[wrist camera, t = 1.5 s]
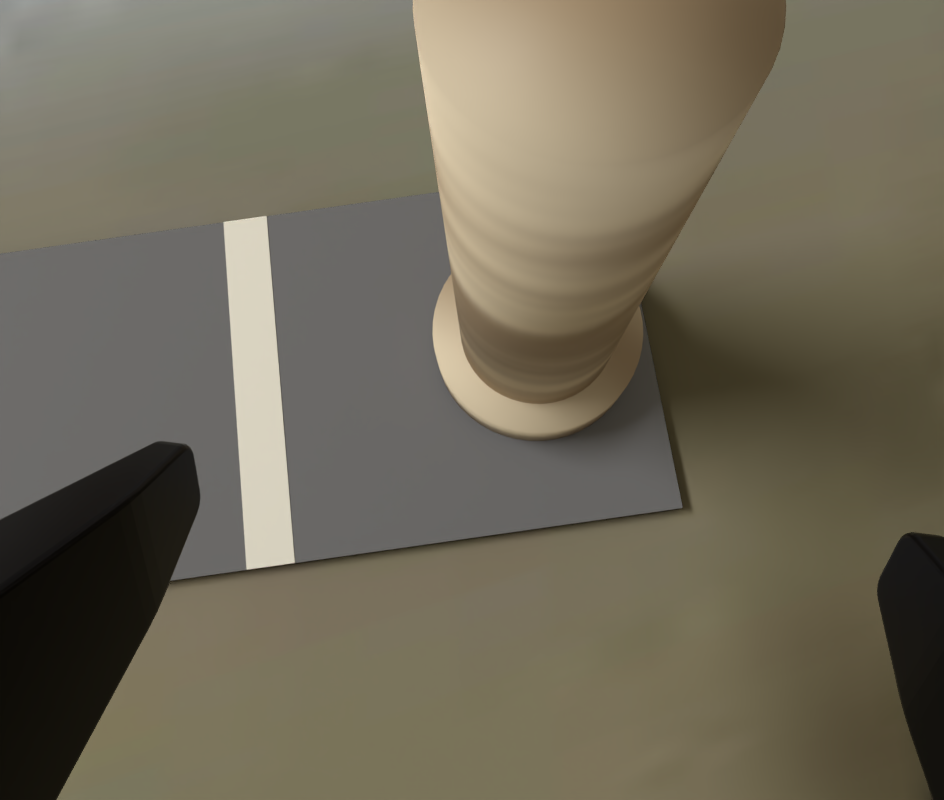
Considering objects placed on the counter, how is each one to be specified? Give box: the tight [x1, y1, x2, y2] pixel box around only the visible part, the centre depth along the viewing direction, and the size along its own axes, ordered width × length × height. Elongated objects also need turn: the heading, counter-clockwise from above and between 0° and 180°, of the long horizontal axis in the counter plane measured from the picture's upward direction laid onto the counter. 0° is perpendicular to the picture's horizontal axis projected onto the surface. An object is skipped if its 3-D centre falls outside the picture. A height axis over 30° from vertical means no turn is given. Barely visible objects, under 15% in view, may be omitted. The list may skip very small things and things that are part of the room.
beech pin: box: [413, 0, 786, 441], centre depth 16 cm, size 6×6×14 cm
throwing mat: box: [0, 192, 683, 581], centre depth 22 cm, size 24×11×1 cm, turn 98°
